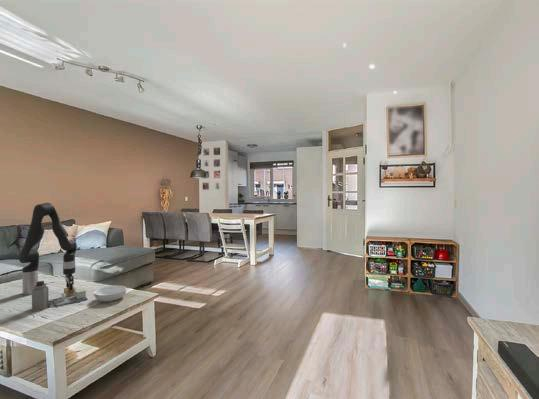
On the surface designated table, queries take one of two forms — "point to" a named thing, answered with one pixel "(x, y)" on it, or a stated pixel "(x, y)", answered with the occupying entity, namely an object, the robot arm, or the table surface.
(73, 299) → the board
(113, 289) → the serving bowl
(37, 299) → the perfume bottle
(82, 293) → the block
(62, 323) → the table surface
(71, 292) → the sleeve
